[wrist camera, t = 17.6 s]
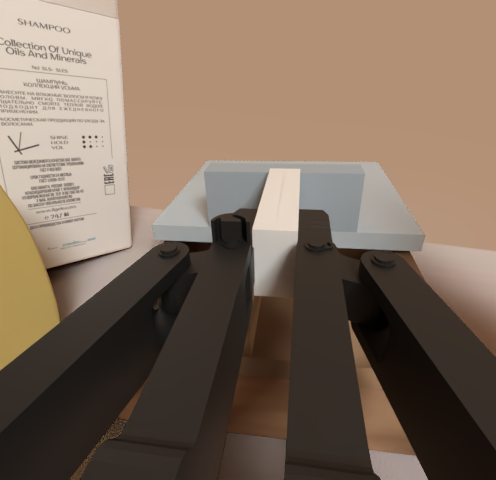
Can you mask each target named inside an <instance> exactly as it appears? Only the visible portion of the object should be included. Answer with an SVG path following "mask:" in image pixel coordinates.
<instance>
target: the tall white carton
mask: <svg viewBox="0 0 496 480" xmlns="http://www.w3.org/2000/svg"><path fill="white" fill-rule="evenodd" d="M119 28H120V27H119V19H118V4H117V0H0V185H1V186H2V188H3V189H4V191H5V192H6V194H7V195H8V197H9V198H10V199H11V201H12V202H13V204H14V205H15V206H16V208H17V210H18V211H19V213H20V214H21V216H22V217H23V219H24V221H25V222H26V224H27V226H28V228H29V230H30V232H31V234H32V236H33V238H34V241H35V243H36V245H37V248H38V250H39V252H40V255H41V257H42V260H43V263H44V265H45V268H46V269H48V268H52V267H56V266H60V265H64V264H68V263H72V262H76V261H80V260H83V259H87V258H91V257H95V256H99V255H103V254H107V253H111V252H115V251H119V250H123V249H127V248H130V247H131V246H132V239H131V221H130V203H129V186H128V168H127V151H126V134H125V117H124V116H125V115H124V97H123V80H122V62H121V44H120V29H119Z"/></svg>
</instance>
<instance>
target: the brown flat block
mask: <svg viewBox="0 0 496 480" xmlns="http://www.w3.org/2000/svg"><path fill="white" fill-rule="evenodd" d="M165 242H181V243H183V244H186V245H187V246H188V247H189V253H194V252H201V251H206V250H209V249H210V247H211V245H212V243H213V242H192V241H169V240H165V241H164V243H165ZM372 250H375V249H352V248H337V252H339V253H340V254H342V255H344V256H347V257H350V258H354V259H358V260H360V258H361V256H362V254H364V253H365V252H367V251H372ZM386 251H390V252H392V253H395V254H397V255H399V256H401V257H402V258H403V259H405V261H406V262H407V263H408V264H409V265H410V266H411V267H412V268H413V269H414V270H415V271H416V272H417V273H418V275H419V276H420V277H421V278H422V279H423V280H424V278H423V276H422V274H421V273H420V271H419V269H418V267H417V265H416V263H415V261H414V259H413V257H412V255H411V254H410V252H409V251H398V250H386ZM424 281H425V280H424ZM252 301H253V305H252V310H251V315H250V320H249V325H248V330H247V335H246V340H245V345H244V350H243V355H242V360H241V365H240V370H239V375H238V380H237V385H236V390H235V394H234V399H233V404H232V409H231V414H230V419H229V424H228V429H227V432H231V433H239V434H247V435H255V436H263V437H271V438H279V439H287V419H288V399H289V378H290V358H291V338H292V318H293V298H284V297H269V296H254V288H253V292H252ZM157 304H158V299H157V300H156V302H155V303H154V305H153V307H154V306H156V305H157ZM348 321H349V320H348ZM349 327H350V334H351V340H352V346H353V353H354V359H355V365H356V372H357V378H358V384H359V391H360V397H361V403H362V410H363V416H364V422H365V429H366V435H367V441H368V448H369V450H376V451H384V452H392V453H400V454H408V455H416V454H415V452H414V450H413V448H412V446H411V444H410V442H409V440H408V438H407V436H406V434H405V432H404V431H403V429H402V427H401V425H400V423H399V421H398V419H397V417H396V415H395V413H394V411H393V409H392V407H391V405H390V403H389V401H388V399H387V397H386V395H385V393H384V391H383V389H382V387H381V385H380V383H379V381H378V379H377V377H376V375H375V373H374V371H373V369H372V367H371V365H370V363H369V361H368V359H367V357H366V355H365V353H364V351H363V349H362V347H361V345H360V343H359V342H358V340H357V338H356V336H355V334H354V332H353V330H352V327H351V321H349ZM147 379H148V378H147ZM146 381H147V380H146ZM146 381H145V382H144V384H143V385H142V386H141V388H140V389H139V390H138V391H137V393H136V394H135V395H134V397H133V398H132V399H131V400H130V402H129V403H128V404H127V406H126V407H125V408H124V409H123V411H122V412H121V413H120V415H119V416H118V417H117V418H118V419H126V420H128V419H129V417H130V415H131V413H132V411H133V409H134V407H135V405H136V402H137V400H138V398H139V396H140V394H141V392H142V390H143V388H144V386H145V383H146Z"/></svg>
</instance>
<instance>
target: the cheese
mask: <svg viewBox="0 0 496 480" xmlns="http://www.w3.org/2000/svg"><path fill="white" fill-rule="evenodd" d="M59 323H60V316H59V310H58V305H57V301H56V298H55V294H54V291H53V288H52V285H51V282H50V279H49V276H48V273H47V271H46V268H45V265H44V263H43V260H42V257H41V255H40V252H39V250H38V248H37V245H36V243H35V241H34V238H33V236H32V234H31V232H30V230H29V228H28V226H27V224H26V222H25V221H24V219H23V217H22V216H21V214H20V213H19V211H18V210H17V208H16V206H15V205H14V204H13V202H12V201H11V199H10V198H9V197H8V195H7V194H6V192H5V191H4V189H3V188H2V186H1V185H0V370H1V369H3V368H4V367H5V366H6V365H8V364H9V363H10V362H11V361H13V360H14V359H15V358H16V357H18V356H19V355H20V354H21V353H23V352H24V351H25V350H26V349H28V348H29V347H30V346H31V345H33V344H34V343H35V342H36V341H38V340H39V339H40V338H41V337H43V336H44V335H45V334H46V333H48V332H49V331H50V330H51V329H53V328H54V327H55V326H56V325H58V324H59Z"/></svg>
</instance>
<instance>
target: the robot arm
mask: <svg viewBox="0 0 496 480" xmlns="http://www.w3.org/2000/svg"><path fill="white" fill-rule="evenodd" d="M299 193H300V169H281V168H270V170H269V174H268V177H267V180H266V184H265V187H264V190H263V194H262V197H261V201H260V204H259V207H258V209H247V208H240V209H238V210H237V211H235V212H234V213H226V214H221V215H218V216H216V217H214V218H213V219H212V220H211V231H212V241H213V243H212V245H211V247H210V249H209V250H206V251H201V252H194V253H189V247H188V246H187V245H186V244H183V243H181V242H165V243H163V244H160V245H157V246H156V247H154V248H152V249H151V250H150V251H149V252H147V253H146V254H145V255H144V256H142V257H141V258H140V259H139V260H137V261H136V262H135V263H134V264H132V265H131V266H130V267H129V268H127V269H126V270H125V271H124V272H122V273H121V274H120V275H119V276H117V277H116V278H115V279H114V280H113V281H111V282H110V283H109V284H108V285H106V286H105V287H104V288H103V289H101V290H100V291H99V292H98V293H96V294H95V295H94V296H93V297H91V298H90V299H89V300H88V301H86V302H85V303H84V304H83V305H81V306H80V307H79V308H78V309H76V310H75V311H74V312H73V313H71V314H70V315H69V316H68V317H66V318H65V319H64V320H63V321H61V322H60V323H59V324H58V325H56V326H55V327H54V328H53V329H51V330H50V331H49V332H48V333H46V334H45V335H44V336H43V337H41V338H40V339H39V340H38V341H36V342H35V343H34V344H33V345H31V346H30V347H29V348H28V349H26V350H25V351H24V352H23V353H21V354H20V355H19V356H18V357H16V358H15V359H14V360H13V361H11V362H10V363H9V364H8V365H6V366H5V367H4V368H3V369H1V370H0V480H69V479H70V478H71V477H72V475H73V474H74V473H75V472H76V470H77V469H78V468H79V466H80V465H81V464H82V462H83V461H84V460H85V459H86V457H87V456H88V455H89V453H90V452H91V451H92V450H93V448H94V447H95V446H96V444H97V443H98V442H99V441H100V439H101V438H102V437H103V435H104V434H105V433H106V431H107V430H108V429H109V428H110V426H111V425H112V424H113V422H114V421H115V420H116V419H117V417H118V416H119V415H120V413H121V412H122V411H123V409H124V408H125V407H126V406H127V404H128V403H129V402H130V400H131V399H132V398H133V397H134V395H135V394H136V393H137V391H138V390H139V389H140V388H141V386H142V385H143V384H144V382H145V381H146V380H147V381H146V383H145V386H144V388H143V390H142V392H141V394H140V396H139V398H138V400H137V402H136V405H135V407H134V409H133V411H132V413H131V415H130V417H129V419H128V421H127V423H126V426H125V428H124V429H123V431H122V433H121V434H120V435H119V436H118V437H117V438H115V439H109V440H106V441H105V442H104V443H103V444H101V445H100V446H99V447H98V449H97V450H96V452H95V454H94V455H93V457H92V458H91V460H90V462H89V464H88V466H87V467H86V469H85V471H84V473H83V475H82V477H81V479H80V480H217V479H218V474H219V469H220V464H221V459H222V454H223V449H224V444H225V439H226V434H227V429H228V424H229V419H230V414H231V409H232V404H233V399H234V394H235V390H236V385H237V380H238V375H239V370H240V365H241V360H242V355H243V350H244V345H245V340H246V335H247V330H248V325H249V320H250V315H251V310H252V305H253V301H252V292H253V288H254V296H269V297H284V298H293V318H292V338H291V358H290V378H289V399H288V419H287V439H286V459H285V476H284V480H381V479H380V477H379V476H377V475H376V474H375V473H374V472H373V469H372V465H371V460H370V454H369V448H368V441H367V435H366V429H365V422H364V416H363V410H362V403H361V397H360V391H359V384H358V378H357V372H356V365H355V359H354V353H353V346H352V340H351V334H350V327H349V321H351V327H352V330H353V332H354V334H355V336H356V338H357V340H358V342H359V343H360V345H361V347H362V349H363V351H364V353H365V355H366V357H367V359H368V361H369V363H370V365H371V367H372V369H373V371H374V373H375V375H376V377H377V379H378V381H379V383H380V385H381V387H382V389H383V391H384V393H385V395H386V397H387V399H388V401H389V403H390V405H391V407H392V409H393V411H394V413H395V415H396V417H397V419H398V421H399V423H400V425H401V427H402V429H403V431H404V432H405V434H406V436H407V438H408V440H409V442H410V444H411V446H412V448H413V450H414V452H415V454H416V456H417V458H418V460H419V462H420V464H421V466H422V468H423V470H424V472H425V474H426V476H427V478H428V480H496V357H495V356H494V355H493V354H492V353H491V352H490V351H489V350H488V349H487V348H486V347H485V345H484V344H483V343H482V342H481V341H480V340H479V339H478V338H477V337H476V336H475V335H474V334H473V333H472V331H471V330H470V329H469V328H468V327H467V326H466V325H465V324H464V323H463V322H462V321H461V320H460V319H459V318H458V316H457V315H456V314H455V313H454V312H453V311H452V310H451V309H450V308H449V307H448V306H447V305H446V304H445V302H444V301H443V300H442V299H441V298H440V297H439V296H438V295H437V294H436V293H435V292H434V291H433V290H432V288H431V287H430V286H429V285H428V284H427V283H426V282H425V281H424V280H423V279H422V278H421V277H420V276H419V275H418V273H417V272H416V271H415V270H414V269H413V268H412V267H411V266H410V265H409V264H408V263H407V262H406V261H405V259H403V258H402V257H401V256H399V255H397V254H395V253H392V252H390V251H386V250H372V251H367V252H365V253H364V254H362V256H361V258H360V260H358V259H354V258H350V257H347V256H344V255H342V254H340V253H339V252H337V247H336V245H335V244H334V243H333V242H332V235H331V228H330V221H329V215H328V214H327V213H326V212H325V211H324V210H311V209H299ZM157 299H158V304H157V305H156V306H154V307H153V305H154V303H155V302H156V300H157ZM348 320H349V321H348ZM147 378H148V379H147Z"/></svg>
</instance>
